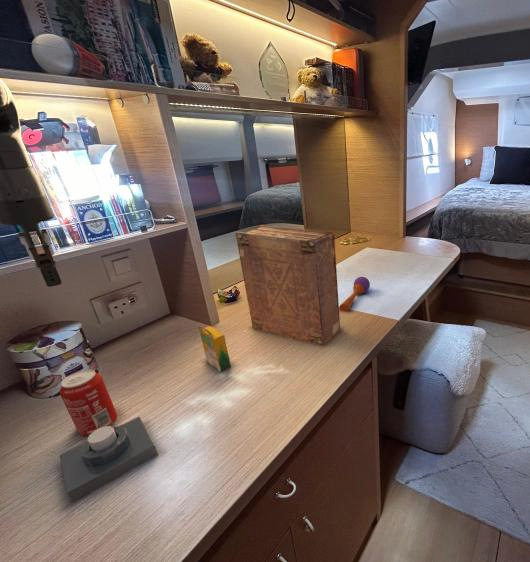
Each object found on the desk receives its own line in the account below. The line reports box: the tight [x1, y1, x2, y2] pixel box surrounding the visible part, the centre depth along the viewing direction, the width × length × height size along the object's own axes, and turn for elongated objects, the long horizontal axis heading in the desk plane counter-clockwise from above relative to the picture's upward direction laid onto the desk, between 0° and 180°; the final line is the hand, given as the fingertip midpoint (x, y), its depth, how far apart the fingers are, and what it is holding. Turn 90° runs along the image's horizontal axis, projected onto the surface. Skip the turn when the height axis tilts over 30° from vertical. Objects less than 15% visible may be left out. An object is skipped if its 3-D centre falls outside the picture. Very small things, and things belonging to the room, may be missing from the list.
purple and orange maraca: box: [339, 276, 371, 312], centre depth 119 cm, size 6×6×20 cm
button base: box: [59, 416, 159, 503], centre depth 59 cm, size 12×10×5 cm
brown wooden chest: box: [235, 224, 341, 347], centre depth 95 cm, size 25×9×30 cm, turn 66°
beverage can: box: [59, 369, 118, 436], centre depth 66 cm, size 6×6×12 cm
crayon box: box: [197, 323, 232, 373], centre depth 84 cm, size 7×3×12 cm, turn 50°
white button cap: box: [87, 425, 117, 452], centre depth 58 cm, size 4×4×2 cm
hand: (54, 284), depth 67 cm, fingers closed
